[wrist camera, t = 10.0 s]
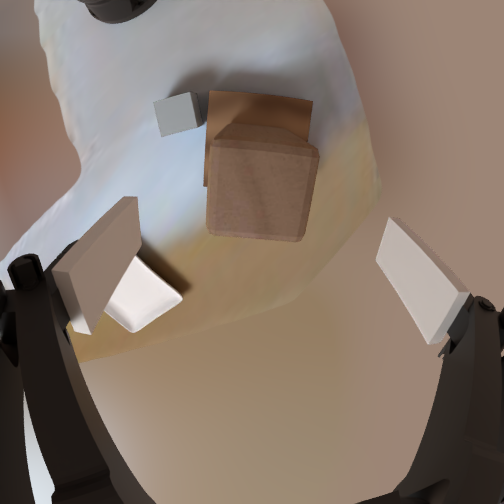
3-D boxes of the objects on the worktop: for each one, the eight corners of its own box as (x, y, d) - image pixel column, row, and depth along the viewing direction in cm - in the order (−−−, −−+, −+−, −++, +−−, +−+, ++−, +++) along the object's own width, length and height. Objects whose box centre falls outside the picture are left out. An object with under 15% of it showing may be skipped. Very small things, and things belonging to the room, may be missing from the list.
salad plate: (136, 326, 68) (133, 335, 65) (77, 275, 60) (71, 283, 57) (188, 290, 62) (185, 300, 59) (120, 226, 53) (113, 233, 50)
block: (290, 128, 40) (323, 148, 22) (281, 187, 45) (304, 247, 27) (225, 122, 39) (209, 135, 22) (221, 182, 44) (204, 238, 27)
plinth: (213, 92, 41) (209, 90, 36) (306, 101, 42) (312, 101, 37) (207, 178, 49) (203, 186, 44) (294, 186, 50) (299, 194, 45)
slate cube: (163, 102, 41) (153, 102, 36) (196, 93, 41) (189, 91, 36) (170, 133, 44) (161, 137, 39) (203, 124, 44) (197, 127, 39)
